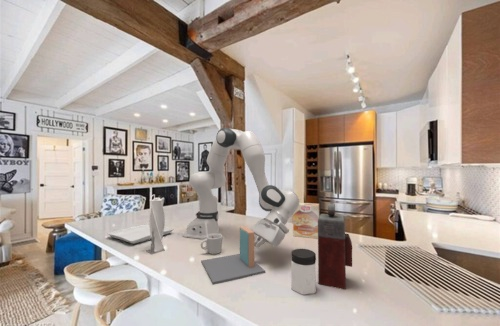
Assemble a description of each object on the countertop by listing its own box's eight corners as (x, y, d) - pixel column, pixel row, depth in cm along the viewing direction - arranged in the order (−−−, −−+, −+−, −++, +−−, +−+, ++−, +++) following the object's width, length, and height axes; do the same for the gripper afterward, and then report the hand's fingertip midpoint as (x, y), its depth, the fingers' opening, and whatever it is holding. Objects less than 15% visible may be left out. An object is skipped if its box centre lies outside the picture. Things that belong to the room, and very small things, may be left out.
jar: (296, 296, 70) (296, 258, 70) (286, 283, 78) (286, 249, 78) (321, 292, 72) (321, 256, 72) (309, 280, 80) (309, 247, 80)
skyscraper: (144, 250, 110) (145, 194, 111) (160, 246, 116) (160, 193, 116) (151, 255, 104) (152, 196, 105) (167, 250, 110) (168, 194, 111)
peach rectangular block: (239, 258, 97) (239, 226, 98) (245, 257, 98) (245, 226, 99) (248, 267, 88) (248, 233, 89) (254, 266, 89) (254, 232, 90)
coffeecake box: (293, 236, 132) (292, 203, 132) (294, 232, 138) (294, 202, 139) (319, 239, 126) (318, 205, 127) (319, 235, 133) (319, 203, 134)
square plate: (174, 234, 137) (174, 228, 137) (131, 248, 114) (131, 240, 114) (149, 228, 151) (149, 222, 151) (106, 239, 128) (106, 232, 128)
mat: (201, 262, 95) (201, 260, 95) (245, 254, 104) (245, 252, 104) (213, 284, 77) (212, 282, 77) (265, 272, 86) (265, 270, 86)
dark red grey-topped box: (353, 291, 73) (352, 207, 74) (318, 284, 77) (317, 205, 78) (352, 278, 81) (351, 203, 82) (320, 272, 86) (319, 201, 86)
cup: (203, 257, 100) (203, 240, 100) (198, 251, 107) (198, 235, 107) (225, 253, 105) (225, 236, 105) (219, 248, 112) (219, 232, 112)
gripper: (260, 213, 108) (241, 235, 104) (282, 222, 90) (261, 250, 85) (267, 221, 110) (250, 243, 106) (291, 232, 91) (271, 259, 87)
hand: (255, 246), depth 95 cm, fingers closed
